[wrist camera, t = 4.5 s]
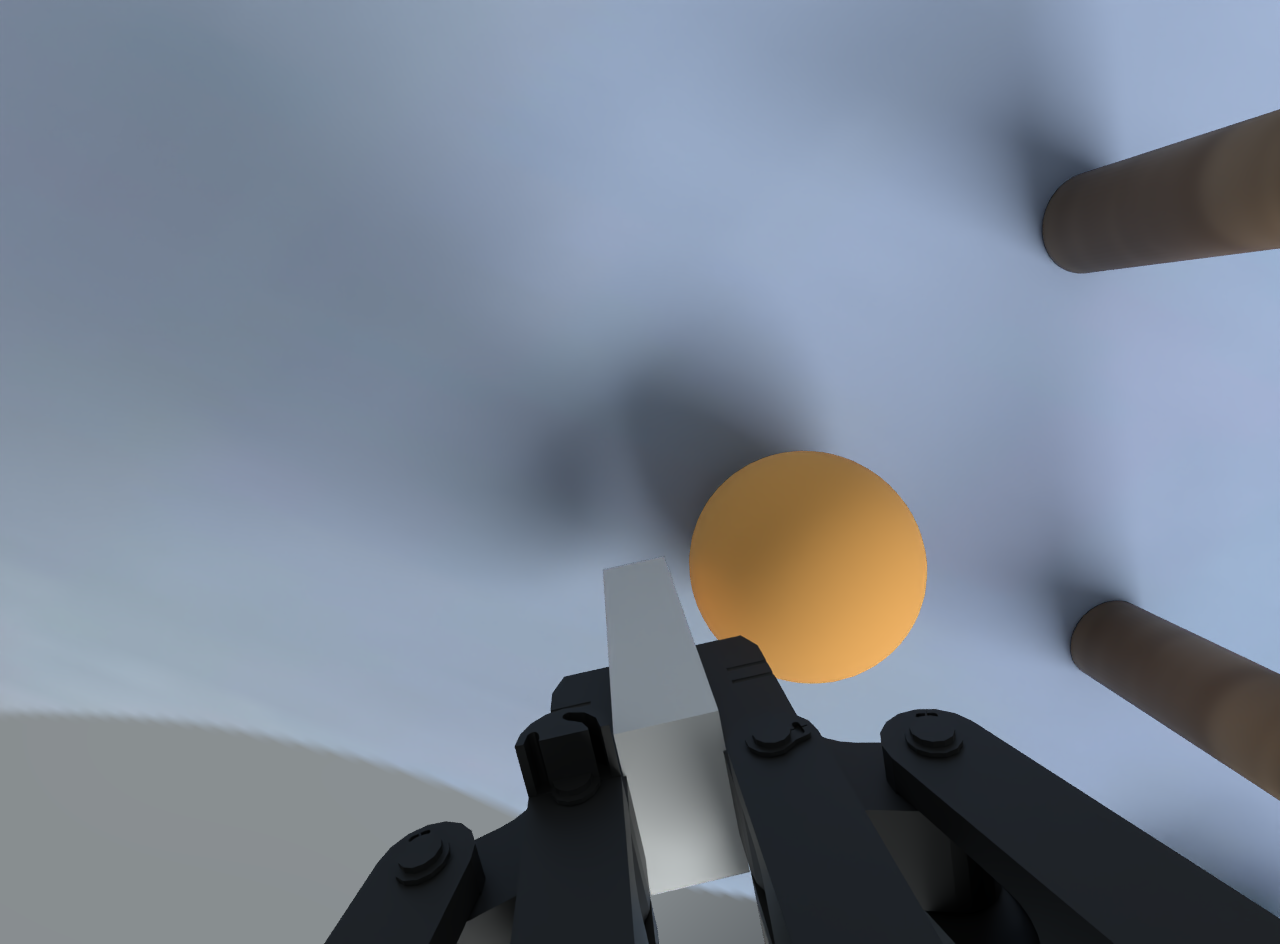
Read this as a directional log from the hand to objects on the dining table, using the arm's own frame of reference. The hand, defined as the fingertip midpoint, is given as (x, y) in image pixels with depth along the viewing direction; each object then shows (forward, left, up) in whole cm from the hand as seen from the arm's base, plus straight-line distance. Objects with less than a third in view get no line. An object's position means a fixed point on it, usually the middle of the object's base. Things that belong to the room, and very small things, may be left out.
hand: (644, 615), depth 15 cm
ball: (+4, 0, 0) cm, 4 cm away
